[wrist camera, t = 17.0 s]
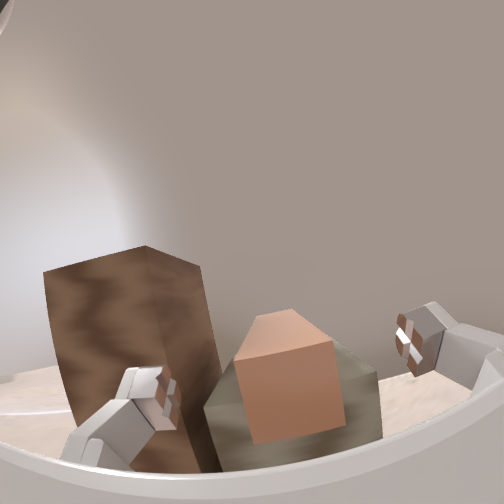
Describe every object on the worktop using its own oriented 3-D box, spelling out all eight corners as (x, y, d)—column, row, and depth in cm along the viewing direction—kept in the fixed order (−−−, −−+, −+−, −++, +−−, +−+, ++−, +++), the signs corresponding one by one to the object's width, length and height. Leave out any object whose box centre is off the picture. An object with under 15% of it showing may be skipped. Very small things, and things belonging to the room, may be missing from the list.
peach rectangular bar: (253, 444, 10) (233, 361, 11) (264, 346, 34) (257, 314, 35) (346, 425, 10) (332, 339, 11) (296, 339, 34) (290, 307, 35)
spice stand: (126, 537, 14) (35, 271, 18) (174, 462, 31) (126, 281, 35) (383, 519, 14) (340, 199, 17) (343, 439, 31) (307, 243, 34)
